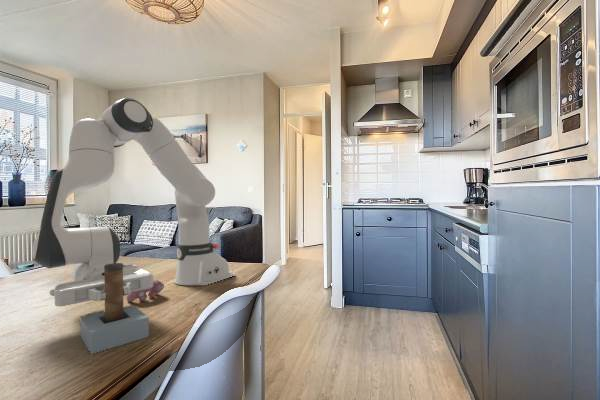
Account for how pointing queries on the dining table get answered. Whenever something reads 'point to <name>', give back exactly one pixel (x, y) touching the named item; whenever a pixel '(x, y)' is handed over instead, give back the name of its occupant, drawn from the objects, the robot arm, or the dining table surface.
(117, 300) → the walnut dowel
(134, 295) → the video game controller
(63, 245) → the robot arm
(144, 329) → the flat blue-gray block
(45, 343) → the dining table surface
